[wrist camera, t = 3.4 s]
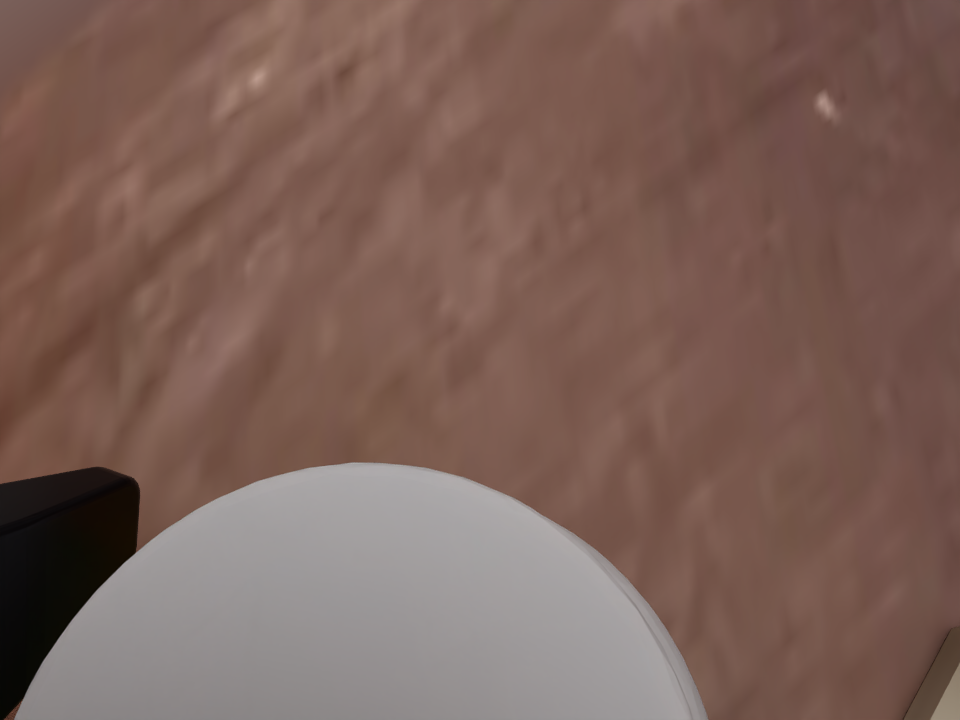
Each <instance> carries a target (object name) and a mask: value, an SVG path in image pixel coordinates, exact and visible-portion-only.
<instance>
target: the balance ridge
mask: <svg viewBox="0 0 960 720" xmlns="http://www.w3.org/2000/svg"><path fill="white" fill-rule="evenodd" d="M903 720H960V626H959V627H955V628H952V629H951V631H950V632H949V634H948V636H947V638H946V640H945V642H944V644H943V646H942V648H941V649H940V651H939V653H938V655H937V657H936V659H935V661H934V663H933V665H932V666H931V668H930V670H929V672H928V674H927V676H926V678H925V680H924V682H923V683H922V685H921V687H920V689H919V691H918V693H917V695H916V697H915V698H914V700H913V702H912V704H911V706H910V708H909V710H908V712H907V714H906V715H905V717H904V719H903Z"/></svg>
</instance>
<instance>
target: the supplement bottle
mask: <svg viewBox="0 0 960 720" xmlns="http://www.w3.org/2000/svg"><path fill="white" fill-rule="evenodd" d="M14 720H708V718H707V714H706V711H705V708H704V706H703V703H702V700H701V698H700V695H699V693H698V690H697V687H696V685H695V683H694V681H693V678H692V676H691V674H690V672H689V670H688V667H687V665H686V663H685V661H684V659H683V657H682V655H681V653H680V652H679V650H678V648H677V646H676V645H675V643H674V641H673V640H672V638H671V636H670V634H669V633H668V631H667V629H666V628H665V626H664V625H663V623H662V622H661V621H660V619H659V618H658V616H657V615H656V614H655V612H654V611H653V609H652V608H651V606H650V605H649V604H648V603H647V602H646V600H645V599H644V598H643V597H642V596H641V595H640V593H639V592H638V591H637V590H636V589H635V588H634V586H633V585H632V584H631V583H630V582H629V580H628V579H627V578H626V577H625V576H624V575H623V574H622V573H621V572H620V571H618V570H617V569H616V568H615V567H614V566H613V565H612V564H611V563H610V562H609V561H608V560H607V559H606V558H605V557H604V556H602V555H601V554H600V553H599V552H598V551H597V550H595V549H594V548H593V547H591V546H590V545H589V544H587V543H586V542H584V541H583V540H582V539H580V538H579V537H578V536H576V535H575V534H574V533H572V532H570V531H569V530H567V529H565V528H563V527H562V526H560V525H558V524H557V523H555V522H553V521H552V520H550V519H548V518H547V517H544V516H542V515H541V514H539V513H538V512H536V511H535V510H533V509H532V508H530V507H529V506H527V505H525V504H524V503H522V502H520V501H518V500H517V499H515V498H513V497H511V496H508V495H506V494H503V493H501V492H499V491H496V490H494V489H491V488H489V487H486V486H484V485H482V484H479V483H477V482H474V481H472V480H469V479H467V478H465V477H461V476H457V475H453V474H449V473H445V472H441V471H436V470H432V469H428V468H423V467H415V466H408V465H397V464H386V463H346V464H339V465H330V466H321V467H313V468H306V469H302V470H298V471H294V472H290V473H286V474H282V475H278V476H275V477H271V478H267V479H264V480H260V481H257V482H255V483H252V484H250V485H248V486H245V487H243V488H241V489H239V490H236V491H234V492H232V493H229V494H227V495H225V496H222V497H220V498H218V499H216V500H214V501H212V502H210V503H208V504H206V505H204V506H202V507H201V508H199V509H197V510H195V511H193V512H192V513H190V514H189V515H187V516H186V517H184V518H183V519H181V520H180V521H178V522H176V523H175V524H173V525H172V526H170V527H169V528H167V529H166V530H164V531H163V532H162V533H160V534H159V535H158V536H156V537H155V538H154V539H152V540H151V541H150V542H148V543H147V544H146V545H145V546H144V547H143V548H141V549H140V550H139V551H138V552H137V553H135V554H134V555H133V556H132V557H131V558H130V559H128V560H127V561H126V562H125V563H124V564H123V565H122V566H121V567H120V568H119V569H118V570H117V571H116V572H115V573H114V574H113V575H112V576H111V577H110V578H109V579H108V580H107V581H106V582H105V583H104V584H103V585H102V586H101V587H100V588H99V589H98V590H97V591H96V592H95V593H94V594H93V595H92V597H91V598H90V599H89V600H88V601H87V603H86V604H85V605H84V606H83V607H82V609H81V610H80V611H79V612H78V613H77V615H76V616H75V617H74V618H73V619H72V621H71V622H70V624H69V625H68V626H67V628H66V629H65V631H64V632H63V633H62V635H61V636H60V638H59V639H58V640H57V642H56V643H55V645H54V646H53V648H52V649H51V651H50V652H49V654H48V655H47V656H46V658H45V659H44V661H43V662H42V664H41V666H40V668H39V670H38V671H37V673H36V675H35V677H34V679H33V680H32V682H31V684H30V686H29V688H28V690H27V692H26V694H25V697H24V699H23V701H22V703H21V705H20V708H19V710H18V712H17V714H16V716H15V719H14Z"/></svg>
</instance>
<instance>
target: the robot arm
mask: <svg viewBox="0 0 960 720" xmlns="http://www.w3.org/2000/svg"><path fill="white" fill-rule="evenodd" d="M139 504H140V488H139V485H138V483H137V482H136V480H135V479H134V478H132V477H130V476H127V475H124V474H121V473H118V472H116V471H113V470H110V469H107V468H104V467H91V468H86V469H80V470H75V471H69V472H64V473H58V474H53V475H47V476H42V477H36V478H31V479H25V480H20V481H14V482H9V483H3V484H0V720H4V719H5V718H6V717H7V715H8V714H9V713H10V712H11V711H12V710H13V709H14V708H15V707H16V706H17V705H18V704H19V703H20V702H21V701H22V699H23V698H24V697H25V694H26V692H27V690H28V688H29V686H30V684H31V682H32V680H33V679H34V677H35V675H36V673H37V671H38V670H39V668H40V666H41V664H42V662H43V661H44V659H45V658H46V656H47V655H48V654H49V652H50V651H51V649H52V648H53V646H54V645H55V643H56V642H57V640H58V639H59V638H60V636H61V635H62V633H63V632H64V631H65V629H66V628H67V626H68V625H69V624H70V622H71V621H72V619H73V618H74V617H75V616H76V615H77V613H78V612H79V611H80V610H81V609H82V607H83V606H84V605H85V604H86V603H87V601H88V600H89V599H90V598H91V597H92V595H93V594H94V593H95V592H96V591H97V590H98V589H99V588H100V587H101V586H102V585H103V584H104V583H105V582H106V581H107V580H108V579H109V578H110V577H111V576H112V575H113V574H114V573H115V572H116V571H117V570H118V569H119V568H120V567H121V566H122V565H123V564H124V563H125V562H126V561H127V560H128V559H130V558H131V557H132V556H133V555H134V554H135V552H136V547H137V534H138V519H139Z"/></svg>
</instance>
